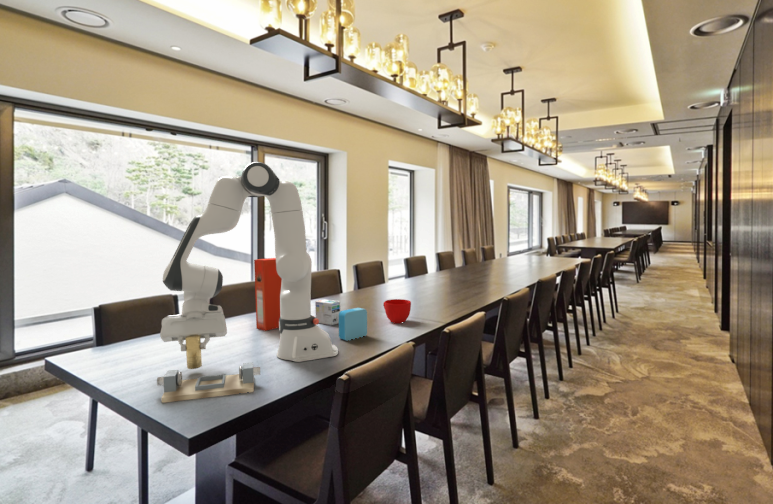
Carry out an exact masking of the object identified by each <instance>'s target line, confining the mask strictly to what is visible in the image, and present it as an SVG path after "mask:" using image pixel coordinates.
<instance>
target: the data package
mask: <svg viewBox="0 0 773 504" xmlns="http://www.w3.org/2000/svg"><path fill="white" fill-rule="evenodd" d="M367 335H368V310H367V309H366V308H363V307H362V308H361V307H353V308H348V309H343V310H340V312H339V323H338V337H339V339H341V340H344V341H346V342H348V340H349V341H352V340H351V339H353V340H356V339H355V338H357V339H360V338H359V337H361V338H364V337H363V336H365V337H366V336H367Z"/></svg>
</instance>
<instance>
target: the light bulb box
mask: <svg viewBox="0 0 773 504" xmlns="http://www.w3.org/2000/svg"><path fill="white" fill-rule="evenodd" d="M314 304H315V317H316V318H317V319H318V320H319V323H318V324H323V325H328V326H334V325H337V324H339V312H340V311H341V301H340V300H333V299H332V300H331V299H325V298H323V299H320V300H315V303H314Z"/></svg>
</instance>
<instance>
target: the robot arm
mask: <svg viewBox="0 0 773 504" xmlns="http://www.w3.org/2000/svg"><path fill="white" fill-rule="evenodd" d="M263 197H265V198H267V200H268V203H269V207H270V212H271V213H270V215H271V220H272V226H273V233H274V250H275V251H274V254H275V258H276V270H277V273H278V275H279V276H280V277H281V278H282V282H281V293H280V318H279V328H278V331H279V333H280V334H279V342H278V348H277V353H276V357H277V358H279V359H281V360H286V361H293V362H295V363H301V362H306V361H307V362H308V361H312V360H318V359H319V360H320V359H325V358H331V357H336V356H337V355H338V354H339V348H338V347H337V345H335V344H333V342H332V338H331V336H330V334H329V333H328V332H327V331H325V330H324V329H322V328H321V327H320V326H318V325H319V324H320V323H319V320H318V319H317V318H316V316H315V315H312V307H311V306H312V304H311V301H312V300H311V299H312V298H311V294H312V293H311V290H312V258H311V256H310V254H309V253H308V251H307V239H306V238H307V237H306V226H305V225H306V224H305V221H304V220H305V219H304V214H303V205H302V201H301V197H300V194H299V191H298V188H297V186H296V184H294V183H293V182H291V181H286V180H282V181H281V180H280V178H279V177H278V176H277V175H276V173H275V172H274V171H273V168H271V167H270V166H269V165H268V164H266V163H264V162H261V161H254V162H250V163H248V164H247V165H246V166H245V167H244V168H243V170H242V172H241V175H240V176H237V177H235V176H231V175H224V176H221V177H220V178H218V179H217V180H216V183H215V185H214V186H213V188H212V191H211V194H210V196H209V199H208V204H207V206H206V208H205V209H204V211H203V212H202V213H201V214H200V215H195V216H194V217H193V219H192V220H191V221H190V222H189V224H188V227H187V228H186V229H185V232H184V233H183V235H182V238H181V239H180V242H179V244H178V246H177V249H176V250H175V252H174V254H173V255H172V258H171V260H170V261H169V263H168V264H167V266H166V267H165V269H164V271H163V274H162V282H163V284H164V286H165V287H166V288H167V289H168V290H169V291H173V292H174V291H175V292H183V299H184V300H183V303H182V306H181V307H182V309H181V314H173V315H171V314H170V315H167V316H165V317H164V318H162V319H161V323H160V325H161V329H160V334H159V335H160V336H159V337H160V339H161V341H162V342H164V343H169V342H177V341H178V344H179V346H180V351H181V352H186V343H184V341H186V339H185V337H187V336H191V335H200V340H202V339H204V341H202V342H201V343H200V348H201V351H202V350H206V347H207V345H208V344H209V342H210V341H211V340H210V339H212V338H221V337H226V335H227V333H228V329H227V322H226V317H225V315H224V309H223V308H222V306H221V305H216V304H211V303H210V300H211V299H213V298H214V297H216V296H217V295H219V294H220V292H221V290H222V288H223V282H224V279H223V278H224V277H223V273H222V271H220V269H219V268H215V267H213V266H207V265H201V264H196V263H190V262H188V258H189V257H190V254H191V252H192V251H193V248H194V246H195V244H196V242H197V240H199V239H200V238H201V237H203V236H207V235H215V234H223V233H224V234H225V233H227V232H230V231H232V230H233V229H235V228H236V227H237V225H238V223H239V220H240V218H241V214H242V211H243V207H244V203H245V201H246V200H247V198H263Z"/></svg>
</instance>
